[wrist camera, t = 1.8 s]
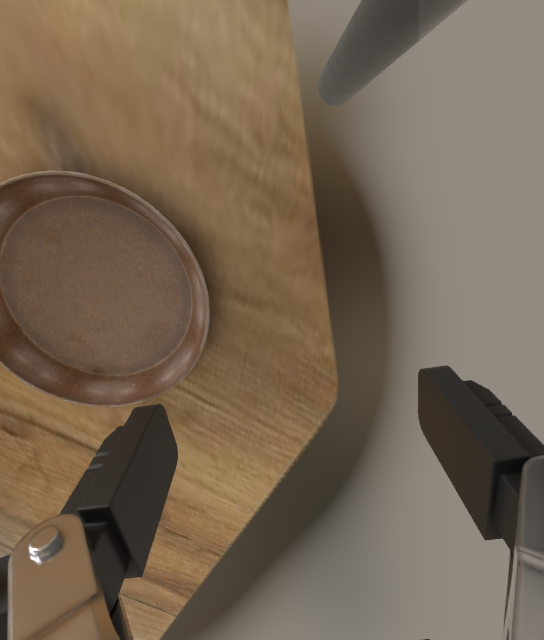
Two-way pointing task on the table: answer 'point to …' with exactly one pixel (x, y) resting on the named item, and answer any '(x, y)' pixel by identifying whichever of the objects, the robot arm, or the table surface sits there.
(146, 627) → the table surface
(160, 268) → the plant saucer
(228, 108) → the table surface
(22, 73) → the table surface
